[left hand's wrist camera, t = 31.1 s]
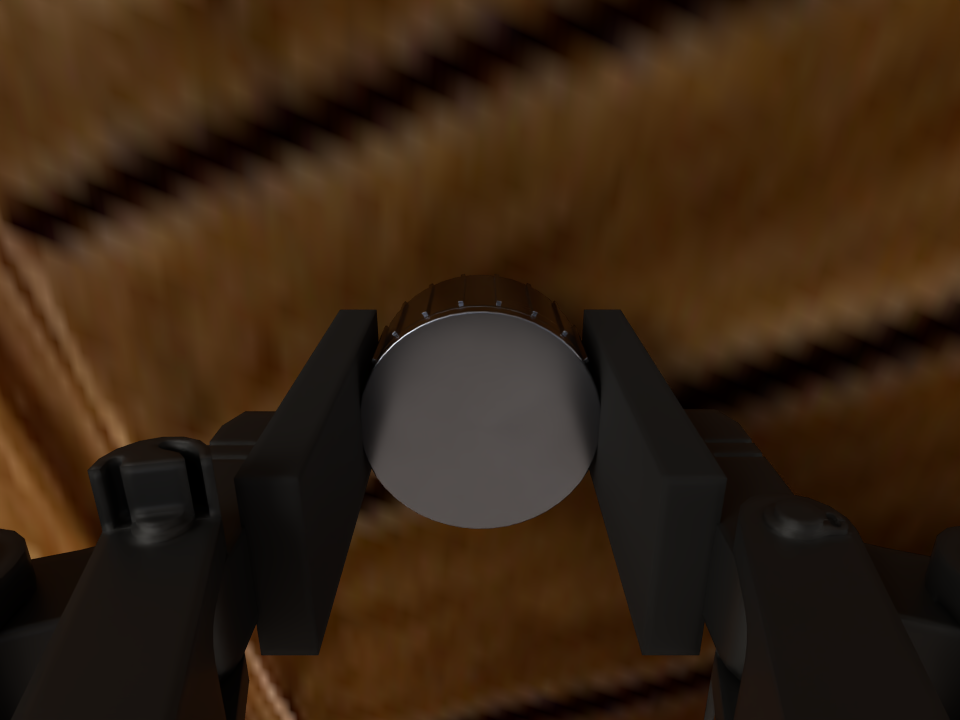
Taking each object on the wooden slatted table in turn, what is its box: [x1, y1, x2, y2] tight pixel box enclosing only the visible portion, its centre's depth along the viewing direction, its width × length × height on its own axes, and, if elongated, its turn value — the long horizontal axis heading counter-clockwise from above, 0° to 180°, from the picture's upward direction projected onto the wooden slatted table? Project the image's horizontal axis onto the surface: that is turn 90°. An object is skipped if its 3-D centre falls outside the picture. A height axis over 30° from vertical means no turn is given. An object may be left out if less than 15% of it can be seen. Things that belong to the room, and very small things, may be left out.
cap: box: [360, 274, 601, 529], centre depth 13 cm, size 4×4×2 cm
